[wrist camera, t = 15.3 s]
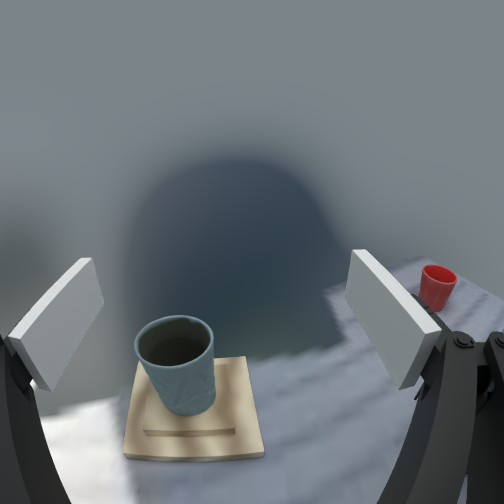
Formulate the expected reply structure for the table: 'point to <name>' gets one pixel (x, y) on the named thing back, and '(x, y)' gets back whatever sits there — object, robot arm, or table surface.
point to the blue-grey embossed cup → (179, 362)
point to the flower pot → (436, 286)
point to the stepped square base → (195, 421)
